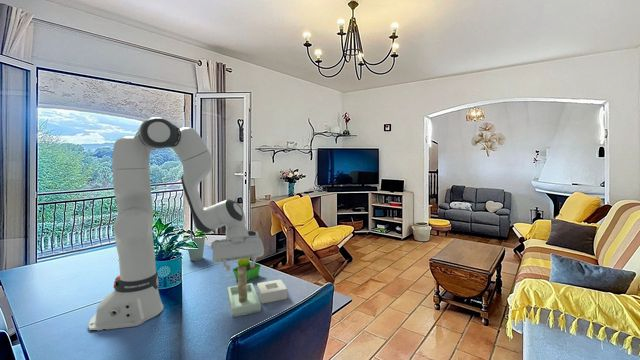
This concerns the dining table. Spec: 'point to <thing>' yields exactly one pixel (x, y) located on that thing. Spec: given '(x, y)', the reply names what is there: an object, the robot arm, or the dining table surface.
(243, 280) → the dowel
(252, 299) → the tray
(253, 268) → the fruit basket
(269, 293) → the socket block
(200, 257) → the beige plant pot
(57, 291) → the dining table surface
